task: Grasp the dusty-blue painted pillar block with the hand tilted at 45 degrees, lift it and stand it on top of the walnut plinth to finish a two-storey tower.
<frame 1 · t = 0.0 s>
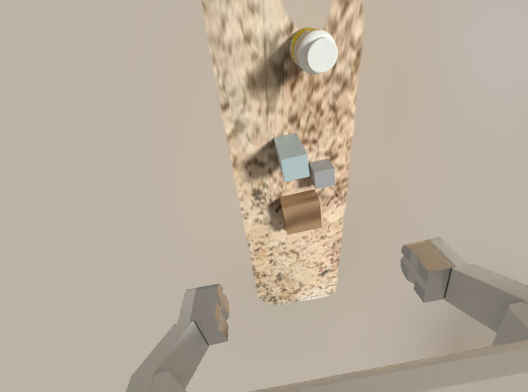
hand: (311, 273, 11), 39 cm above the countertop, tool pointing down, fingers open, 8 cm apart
plinth: (299, 207, 59), on the countertop
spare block: (319, 168, 54), on the countertop
pillar: (286, 145, 50), on the countertop
supplement bottle: (305, 47, 41), on the countertop
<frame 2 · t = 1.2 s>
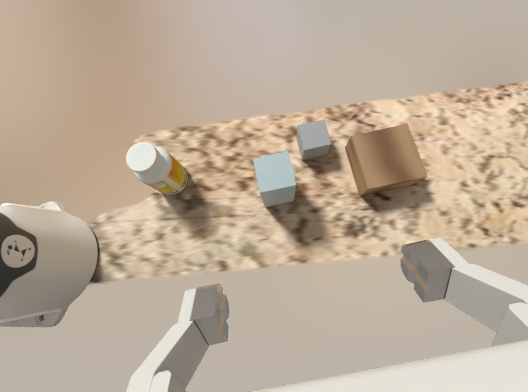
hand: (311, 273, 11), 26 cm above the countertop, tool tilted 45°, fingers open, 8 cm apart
plinth: (377, 165, 39), on the countertop
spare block: (311, 146, 41), on the countertop
pillar: (276, 190, 40), on the countertop
supplement bottle: (173, 179, 42), on the countertop
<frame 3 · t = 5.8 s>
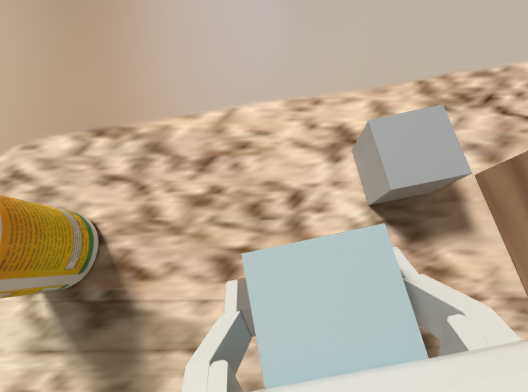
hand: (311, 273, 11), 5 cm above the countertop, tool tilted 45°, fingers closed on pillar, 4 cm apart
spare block: (389, 171, 17), on the countertop
pillar: (308, 284, 16), on the countertop, touching gripper
supplement bottle: (68, 249, 18), on the countertop
when the fingers open (10 cm above the countertop, at t = 11.8 s): pillar drops 1 cm, resting on plinth.
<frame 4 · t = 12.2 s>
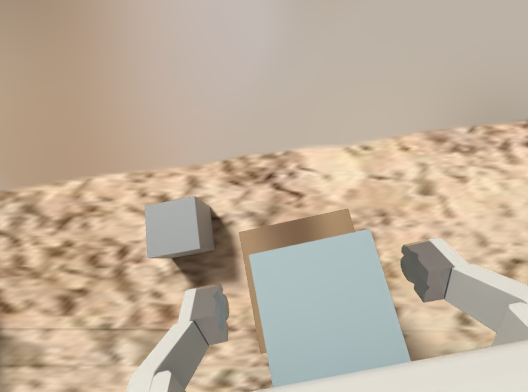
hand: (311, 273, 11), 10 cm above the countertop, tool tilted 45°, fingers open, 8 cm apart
plinth: (303, 274, 21), on the countertop
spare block: (191, 232, 23), on the countertop
pillar: (307, 282, 17), point 4 cm above the countertop, touching plinth
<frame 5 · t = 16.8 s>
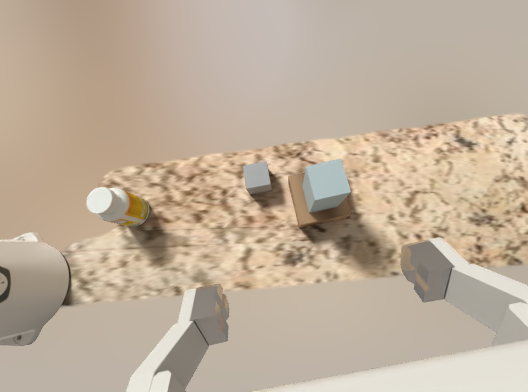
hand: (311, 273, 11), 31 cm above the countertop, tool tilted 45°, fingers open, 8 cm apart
plinth: (316, 200, 44), on the countertop
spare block: (259, 182, 46), on the countertop
pillar: (319, 196, 40), point 4 cm above the countertop, touching plinth
supplement bottle: (137, 212, 47), on the countertop
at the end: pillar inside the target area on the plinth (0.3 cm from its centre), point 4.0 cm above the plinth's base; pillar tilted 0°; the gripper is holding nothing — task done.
